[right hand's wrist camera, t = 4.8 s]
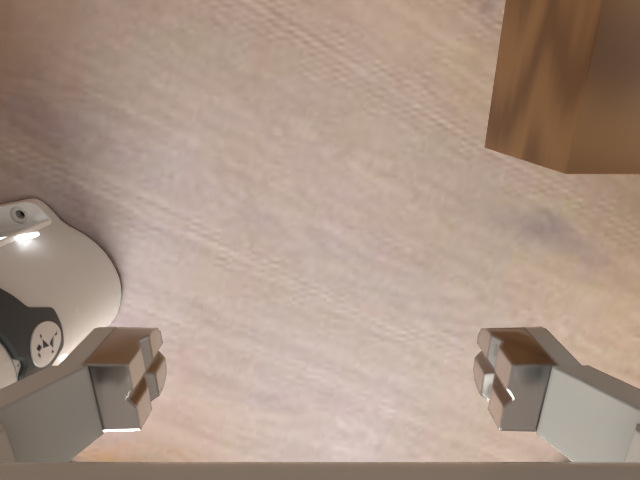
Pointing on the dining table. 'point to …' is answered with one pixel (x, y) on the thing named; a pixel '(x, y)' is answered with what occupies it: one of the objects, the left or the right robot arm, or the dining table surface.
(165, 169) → the dining table surface
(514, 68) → the bar
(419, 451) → the dining table surface
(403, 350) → the dining table surface
